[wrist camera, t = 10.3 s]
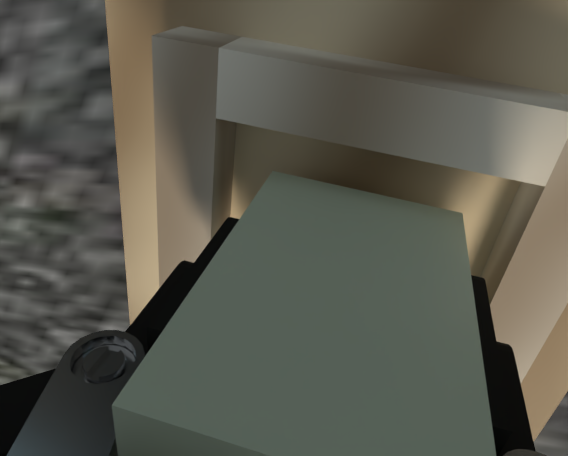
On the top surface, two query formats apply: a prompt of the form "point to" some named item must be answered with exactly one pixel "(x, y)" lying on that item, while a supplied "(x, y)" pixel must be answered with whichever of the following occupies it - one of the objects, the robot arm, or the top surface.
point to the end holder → (356, 135)
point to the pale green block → (319, 337)
